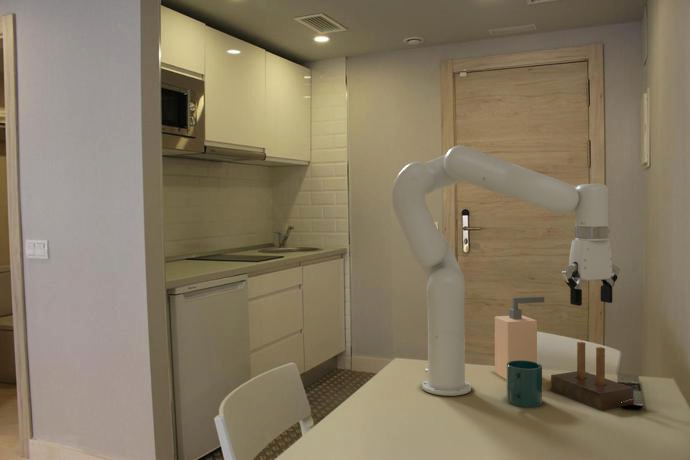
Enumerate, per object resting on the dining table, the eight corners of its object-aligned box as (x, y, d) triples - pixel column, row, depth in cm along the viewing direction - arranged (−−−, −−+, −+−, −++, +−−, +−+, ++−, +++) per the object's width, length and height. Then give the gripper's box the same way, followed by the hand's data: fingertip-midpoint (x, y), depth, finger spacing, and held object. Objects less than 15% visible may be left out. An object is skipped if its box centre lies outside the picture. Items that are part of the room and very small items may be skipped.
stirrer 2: (595, 400, 141) (596, 347, 140) (600, 399, 141) (600, 346, 141) (600, 402, 139) (600, 348, 139) (604, 401, 140) (605, 348, 139)
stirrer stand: (550, 390, 149) (550, 374, 149) (581, 385, 153) (581, 370, 153) (600, 410, 134) (600, 393, 134) (633, 404, 137) (633, 387, 137)
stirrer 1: (576, 393, 146) (577, 342, 146) (581, 392, 147) (581, 341, 146) (581, 394, 145) (581, 343, 145) (585, 393, 146) (585, 342, 145)
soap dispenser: (508, 381, 157) (508, 300, 156) (494, 372, 166) (494, 296, 165) (551, 378, 159) (551, 299, 159) (535, 369, 168) (535, 294, 167)
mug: (514, 393, 146) (514, 358, 146) (546, 400, 141) (546, 363, 141) (495, 406, 137) (495, 368, 137) (529, 413, 132) (529, 374, 132)
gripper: (606, 232, 148) (606, 299, 149) (552, 234, 142) (552, 303, 143) (630, 233, 141) (630, 303, 142) (575, 235, 135) (575, 308, 136)
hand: (591, 303), depth 142 cm, fingers open, 9 cm apart
